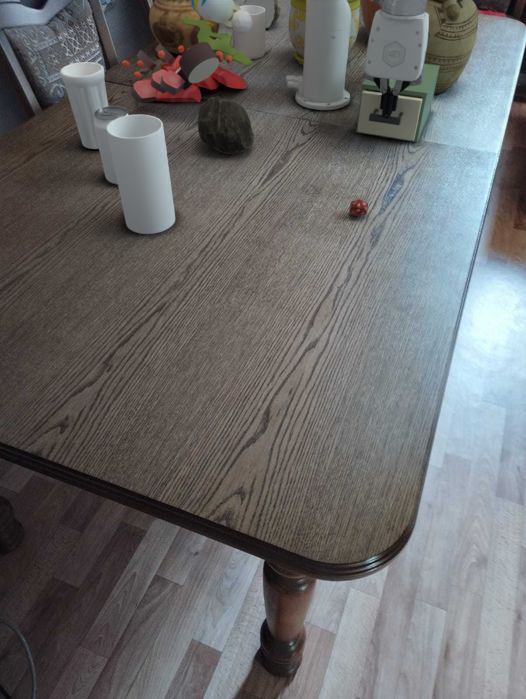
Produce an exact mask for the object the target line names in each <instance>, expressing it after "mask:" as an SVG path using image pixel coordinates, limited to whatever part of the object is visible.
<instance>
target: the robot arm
mask: <svg viewBox="0 0 526 699" xmlns="http://www.w3.org/2000/svg"><path fill="white" fill-rule="evenodd" d="M427 1H428V0H373V2H374V3H377V4H379V6H380V10H378V11H377V12H376V13H375V16H374V19H373V23H372V27H371V32H370V36H369V35H368V37H369V38H368V41H367V48H366V54H365V60H364V73H363V78H364V80H365V79H367V80H370V81H373V82H375V84H376V85H377V87H378V88H379V89H380V93H381V94H382V95H381V102H380V109H381V110H382V116H387V117H390V116H391V114H392V112H393V111H396V108H397V103H398V97H399V93H400V92H402V91H403V90H404V89H406V88H407V87H408V86H417V85H420V84H421V83H422V81H423V77H422V70H423V67H424V63H425V57H426V49H427V41H428V30H429V14H428V13H426V6H427ZM350 27H351V9H350V6H349V4H348V2H347V0H306V29H305V49H304V65H303V71H302V73H303V75H299V76H295V75H290V74H289V75H286V76H285V77H286V78H285V84H286V85H287V88H290V89H296V90H297V91H296V92H295V97H294V98H295V101H296V103H297V104H298V105H300V106H302V107H304V108H307V109H311V110H317V111H332V110H338V109H341V108H344V107H346V106H348V104H349V103H350V101H351V94H350V92H349V91H348V90H346V89H345V85H346V76H347V75H346V74H347V65H348V59H347V57H348V54H349V52H348V47H349V37H350ZM390 79H394V80H396V83H395V86H394V88H393V90H392V92H391V89H390V86H389V83H390Z"/></svg>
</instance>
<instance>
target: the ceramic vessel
mask: <svg viewBox="0 0 526 699" xmlns="http://www.w3.org/2000/svg"><path fill="white" fill-rule="evenodd" d="M426 13H428V14H429V30H428V41H427V49H426V57H425V63H424V64H429V65H437V66H440V67H439V72H438V77H437V81H436V86H435V91H434V95H439V94H440V95H441V94H442V93H443V94H444V93H446V92H447V91H449V90H450V89H451V88H452V87H453V85H455V84H456V82H457V81H458V79H459V78H460V77H461V76H462V73H464V70H465V68H466V66H467V64H468V63H469V60H470V58H471V55H472V53H473V49H474V47H475V43H476V38H477V35H478V28H479V11H478V7H477V5H476V3H475V2H474V0H428V1H427V6H426Z"/></svg>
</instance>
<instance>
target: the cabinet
mask: <svg viewBox="0 0 526 699" xmlns="http://www.w3.org/2000/svg"><path fill="white" fill-rule="evenodd" d="M439 67H440V66H437V65H429V64H424V67H423V70H422V77H423V81H422V83H421V84H420V85H417V86H408V87H407V88H406V89H404V90H403V91H402V92H400V93H399V94H403V95H410V96H417V97H421V99H422V104H421V109H420V114H419V118H418V123H417V128H416V133H415V138H414V141H411V140H405V139H399V138H393V137H387V136H380V135H374V134H368V133H362V132H357V130H358V122H359V114H360V106H361V98H362V92H363V91H369V90H375V91H380V89H379V88H378V87H377V85H376V84H375V82H373V81H370V80H367V79H365V78H364V80H363V82H362V83H361V90H360V96H359V105H358V112H357V121H356V131H355V133H358V134H363V135H369V136H376V137H380V138H381V137H382V138H388V139H393V140H394V139H395V140H401V141H406V142H412V143H418V141H419V138H420V137H421V134H422V132H423V129H424V127H425V125H426V122H427V120H428V118H429V116H430V113H431V110H432V104H433V100H434V96H435V94H434V91H435V86H436V81H437V77H438V72H439ZM395 83H396V80H394V79H390V83H389V86H390V89H391V92H392V90H393V88H394V86H395Z"/></svg>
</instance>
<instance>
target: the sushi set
mask: <svg viewBox="0 0 526 699" xmlns="http://www.w3.org/2000/svg"><path fill="white" fill-rule="evenodd" d="M191 4H192V7H193V8H194V10H195V11H196V12H197V14H198V15H199V16H200V17H201V18H202V19H203V20H189V19H188V17H187V13H186V15H185V18H184V22H185V24H188V25H192V26H197V27H199V28H200V31H199V33H198V35H197V37H198V41H199V43H197V44H195V45H193V46H192V47H190V48H188V49H187V51H185V52H184V53H183V55H180V54H178V55H177V56H176V58H175V57H173V55H172V54H171V52H170V51H168V50H166V49H165V48H164V47H163V46H162V45H160V44H159V43H158V46H156V48H155V51H156V52H157V57H158V58H159V59H162V60H163V61H164V62H165V63H162V64H159V66H160V69H159V70H158V71H154V69H156V67H157V66H158V65H157V64H156V63H155V62H154V61H153V60H152V59H151V58H150V57H149V56H148V55H147V54H146V53H145V52H144V51H143V50H141V49H140V50H139V52H137V54H136V57H137V58H138V59H139V60H138V61H137V62H136V65H137V67H138V68H143V67H144V66H145V67H146V68H147V69H148V70H150V71H152V72H153V71H154V73H152V76H151V77H150V78H142V79H141V80H140V78H141V77H142V75H141V72H140V71H135V72H133V76H134V78H135V79H136V81H135V82H134V84H133V85H132V87H131V89H130V94H131V95H132V96H133V97H134V99H135V100H136V102H138V104H142V103H151V102H154V101H155V102H164V103H200V102H201V99H202V94H201V89H200V87H201V88H204V89H206V90H207V89H208V90H211V91H212V90H216V89H217V88H218V87H220V83H221V84H222V85H224V86H226V87H227V88H231V89H245V88H246V87H247V86H248V83H247V82H246V81H245V79H244V77H242V76H240V75H239V74H238V73H236V72H234V71H232V70H229V69H227V68H225V67H223V66H220V63H223V62H224V61H225V62H226V63H228V64H231V63H232V62H233V61H234V62H236V63H239V64H241V65H244V66H246V67H249V66H250V65H252V64H254V61H253V60H252V59H249V58H248V57H247V56H246V55H245V54H244V53H243V52H242V51H237V50H236V49H234V48H233V45H231V43H232V41H233V36H231V35H230V34H228V33H227V32H226V33H225V32H218V33H212V31H211V26H214V25H216V24H218V23H220V24H221V25H223V24H224V25H225V26H227V27H228V28H232V30H233V29H234V30H235V31H236V32H237V33H240V34H244V33H247V32H248V31H249V30H250V29H251V26H252V23H253V22H252V17H251V15H250V14H249V13H248V12H247V11H245V10H243V9H242V10H241V8H240V7H239V6H240V5H238V4H237V3H235V2H234V1H233V0H191ZM205 20H206V21H205ZM207 21H208V22H207ZM209 36H210V37H214V38H216V40H213V39H212V38H210V37H209ZM178 51H179V52H183V51H184V47H183V46H179V47H178ZM121 65H122V66H123V68H128V67H129V66H130V63H129V61H128V60H127V59H124V60H122V62H121ZM137 79H138V80H137Z"/></svg>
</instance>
